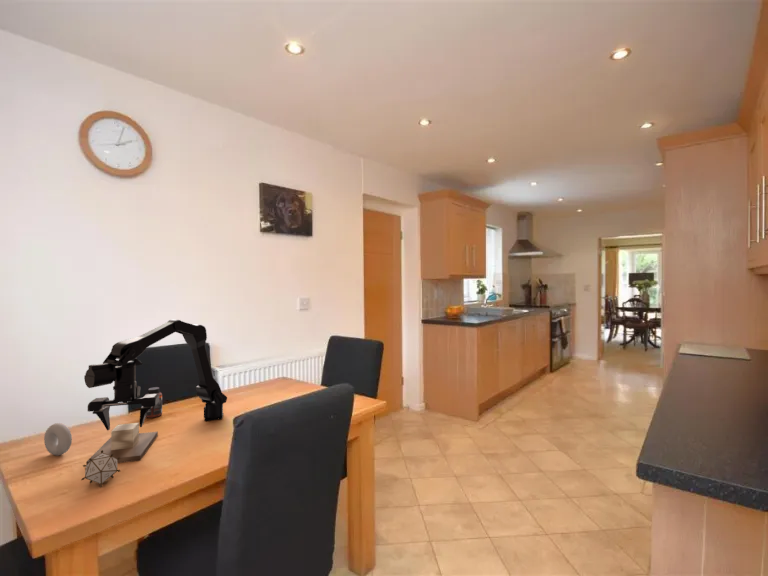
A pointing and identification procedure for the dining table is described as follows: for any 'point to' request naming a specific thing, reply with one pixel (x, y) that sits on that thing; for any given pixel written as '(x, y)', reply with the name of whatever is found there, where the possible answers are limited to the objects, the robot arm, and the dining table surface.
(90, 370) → the robot arm
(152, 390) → the supplement bottle
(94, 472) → the game die
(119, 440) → the maple cube
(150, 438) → the walnut board
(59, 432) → the donut
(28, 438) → the dining table surface
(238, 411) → the dining table surface
